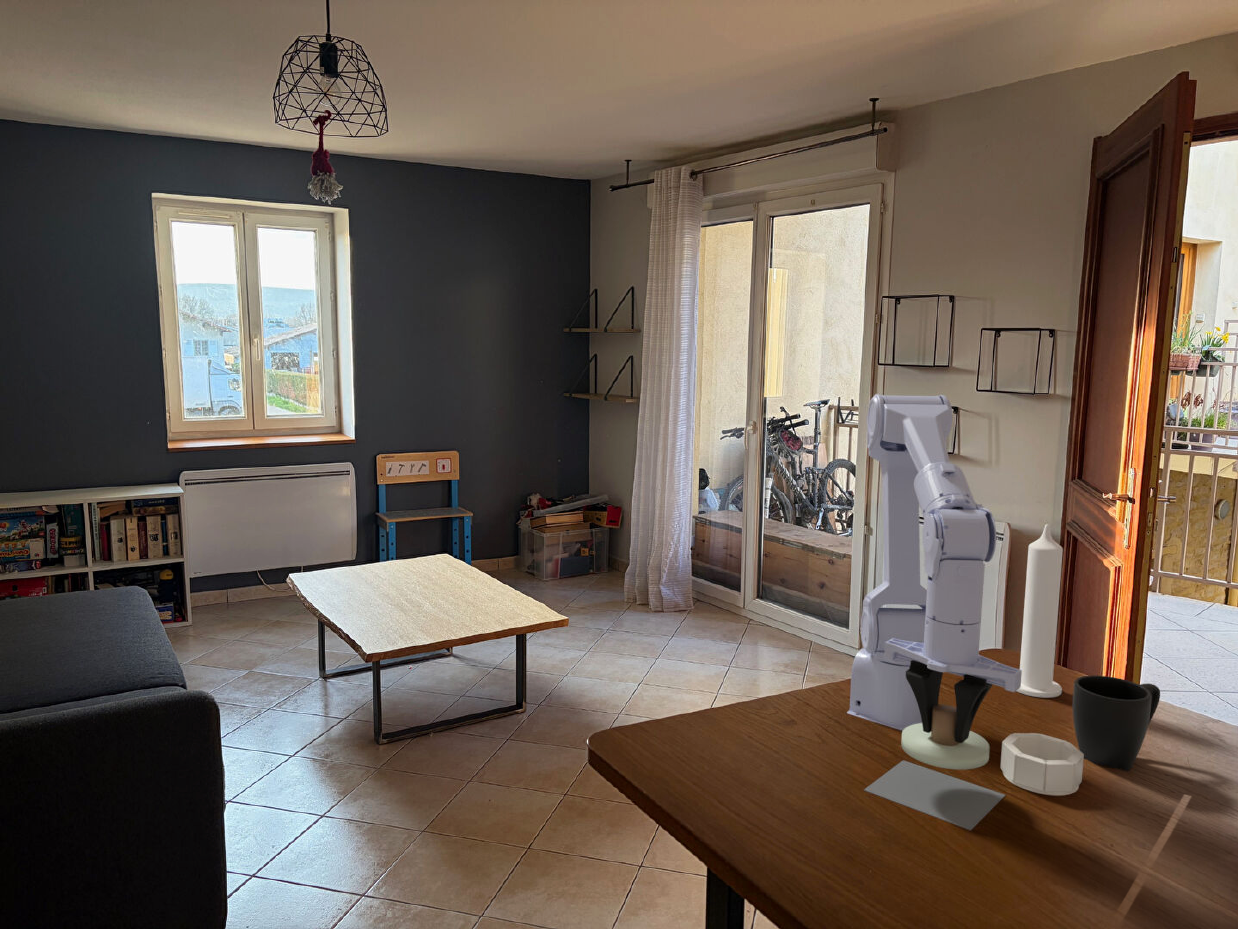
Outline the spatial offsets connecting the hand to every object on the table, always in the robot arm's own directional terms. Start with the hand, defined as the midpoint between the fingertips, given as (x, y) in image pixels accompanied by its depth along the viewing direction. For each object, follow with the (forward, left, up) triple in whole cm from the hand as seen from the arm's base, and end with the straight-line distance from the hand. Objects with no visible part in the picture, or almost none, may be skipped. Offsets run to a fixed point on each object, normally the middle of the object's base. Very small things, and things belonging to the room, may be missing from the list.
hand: (945, 734), depth 98 cm
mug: (+12, +24, -7) cm, 28 cm away
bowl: (+7, +11, -7) cm, 15 cm away
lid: (0, 0, -2) cm, 2 cm away
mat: (0, -1, -7) cm, 7 cm away
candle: (-3, +41, -7) cm, 42 cm away
